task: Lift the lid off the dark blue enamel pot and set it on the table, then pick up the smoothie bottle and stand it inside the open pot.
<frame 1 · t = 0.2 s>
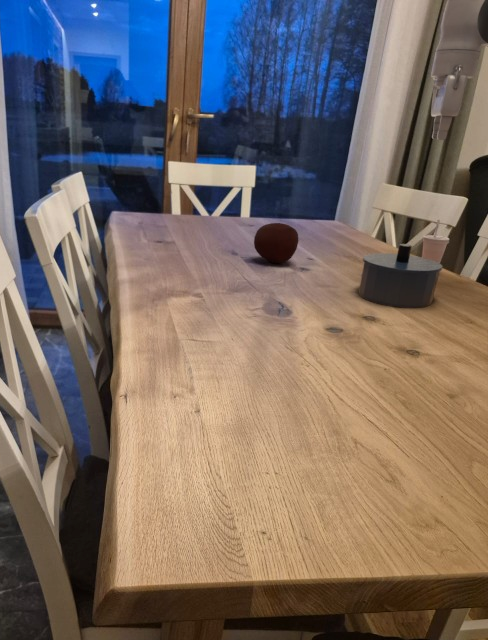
hand: (438, 139, 128), 32 cm above the table, tool pointing down, fingers open, 8 cm apart
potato: (273, 262, 155), on the table
pot: (394, 297, 129), on the table
lid: (401, 264, 126), point 7 cm above the table, touching pot
smoothie: (427, 275, 150), on the table
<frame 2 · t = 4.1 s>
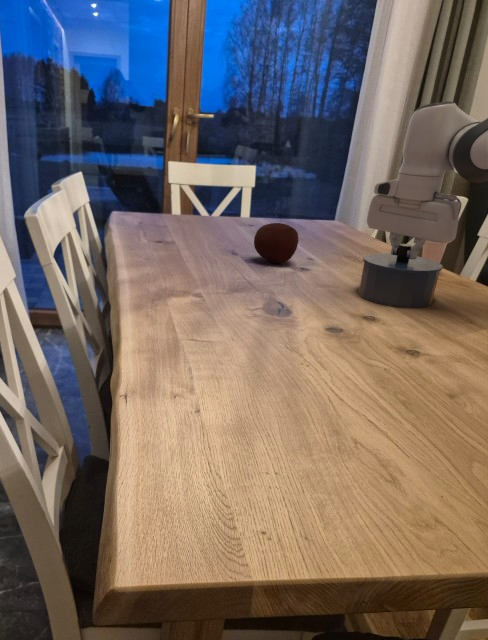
hand: (403, 256, 125), 9 cm above the table, tool pointing down, fingers closed on lid, 2 cm apart
lid: (401, 264, 126), point 8 cm above the table, touching gripper, pot
everything else where it was.
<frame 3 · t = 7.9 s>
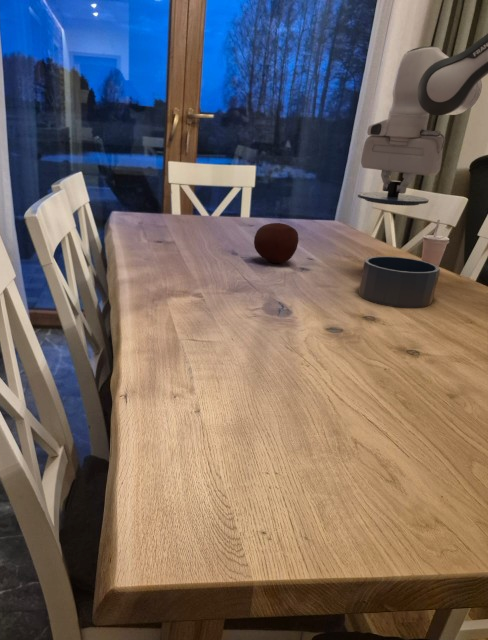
hand: (393, 192, 139), 20 cm above the table, tool pointing down, fingers closed on lid, 2 cm apart
lid: (392, 199, 139), point 19 cm above the table, touching gripper
everything else where it was.
when the fingers open (2 cm above the table, at t = 11.9 s): lid stays where it is, point 1 cm above the table.
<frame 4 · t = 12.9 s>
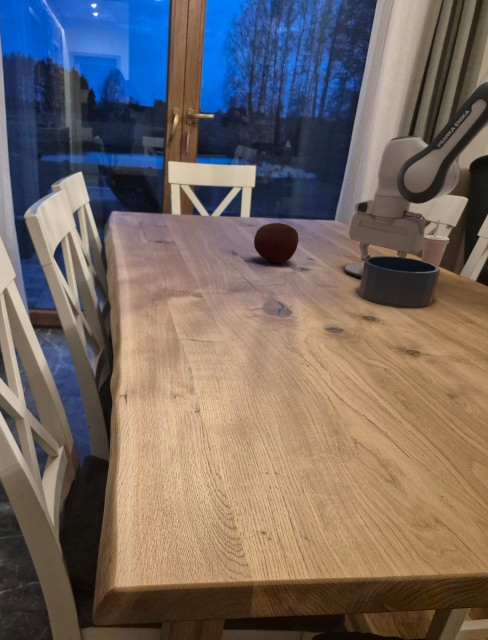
hand: (379, 264, 147), 3 cm above the table, tool pointing down, fingers open, 8 cm apart
lid: (377, 272, 148), point 1 cm above the table
everything else where it was.
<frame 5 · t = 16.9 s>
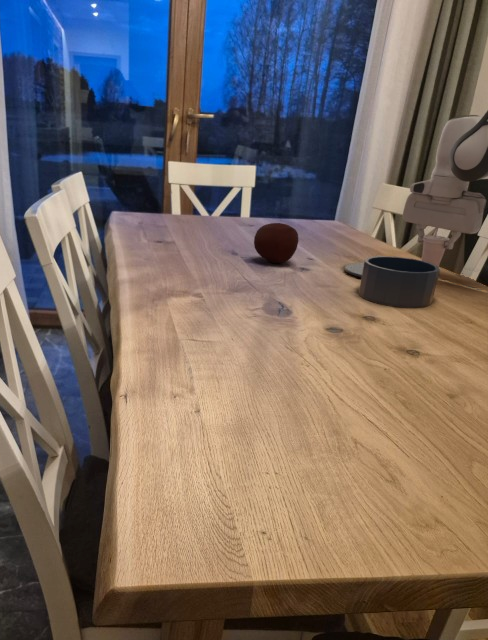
hand: (434, 245, 147), 8 cm above the table, tool pointing down, fingers closed on smoothie, 6 cm apart
smoothie: (427, 275, 150), on the table, touching gripper
everything else where it was.
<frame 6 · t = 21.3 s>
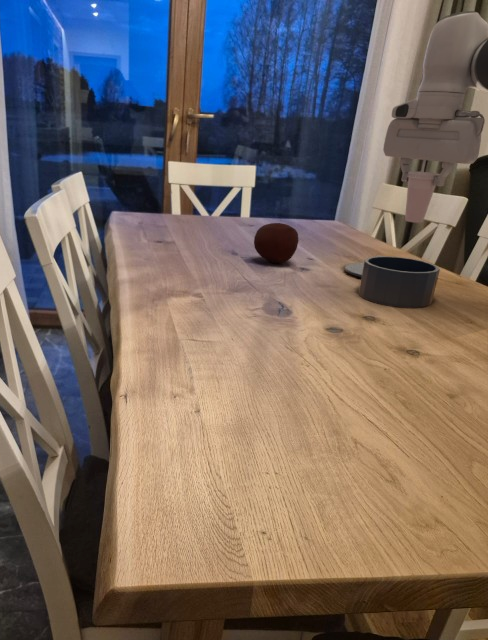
hand: (421, 183, 120), 24 cm above the table, tool pointing down, fingers closed on smoothie, 6 cm apart
smoothie: (413, 222, 124), point 16 cm above the table, touching gripper
everything else where it was.
when the fingers open (8 cm above the table, at t = 25.6 s): smoothie stays where it is, resting on pot.
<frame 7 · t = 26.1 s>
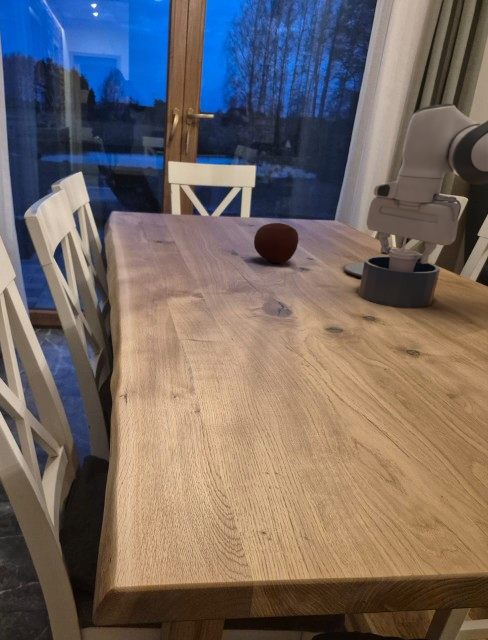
hand: (402, 258, 125), 9 cm above the table, tool pointing down, fingers open, 8 cm apart
smoothie: (395, 296, 129), resting on pot
everything else where it was.
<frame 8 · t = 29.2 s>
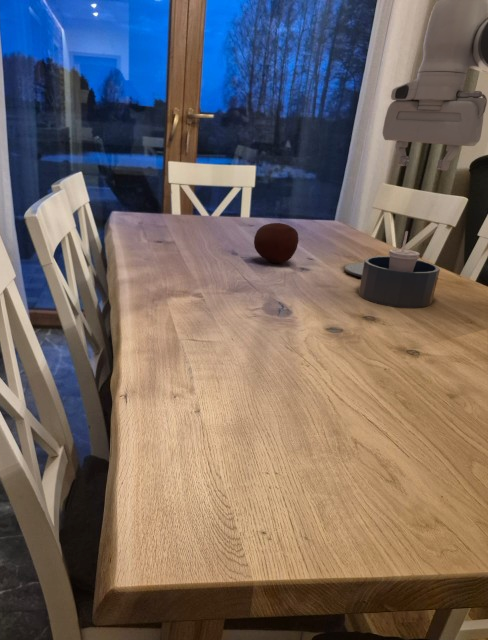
hand: (421, 167, 117), 27 cm above the table, tool pointing down, fingers open, 8 cm apart
nothing on the table moved.
at the end: lid inside the target area (0.1 cm from its centre), point 0.6 cm above the table; smoothie inside the target area in the pot (0.1 cm from its centre), point 0.3 cm above the pot's base; smoothie tilted 0° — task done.
